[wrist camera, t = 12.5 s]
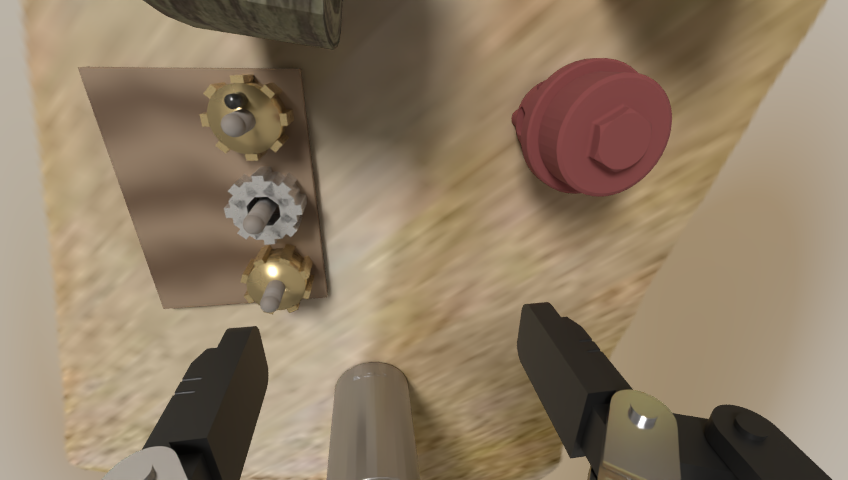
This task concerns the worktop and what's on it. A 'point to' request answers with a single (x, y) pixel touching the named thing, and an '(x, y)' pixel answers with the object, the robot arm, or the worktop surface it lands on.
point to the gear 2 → (279, 275)
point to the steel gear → (278, 191)
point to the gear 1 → (259, 103)
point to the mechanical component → (593, 127)
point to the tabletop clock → (262, 18)
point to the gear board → (199, 179)
